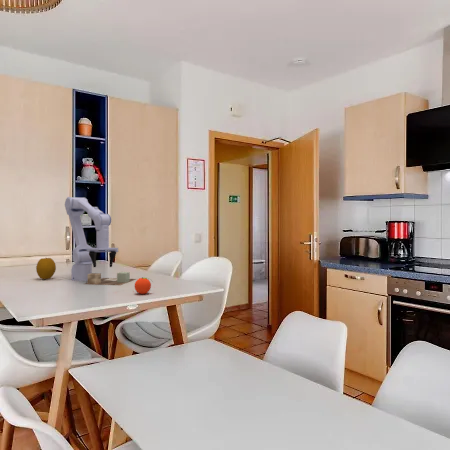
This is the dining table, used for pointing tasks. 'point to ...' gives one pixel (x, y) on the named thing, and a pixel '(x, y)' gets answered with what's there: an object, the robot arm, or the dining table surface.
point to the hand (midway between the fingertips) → (102, 266)
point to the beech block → (94, 278)
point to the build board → (110, 281)
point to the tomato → (142, 285)
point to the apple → (45, 268)
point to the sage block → (123, 277)
